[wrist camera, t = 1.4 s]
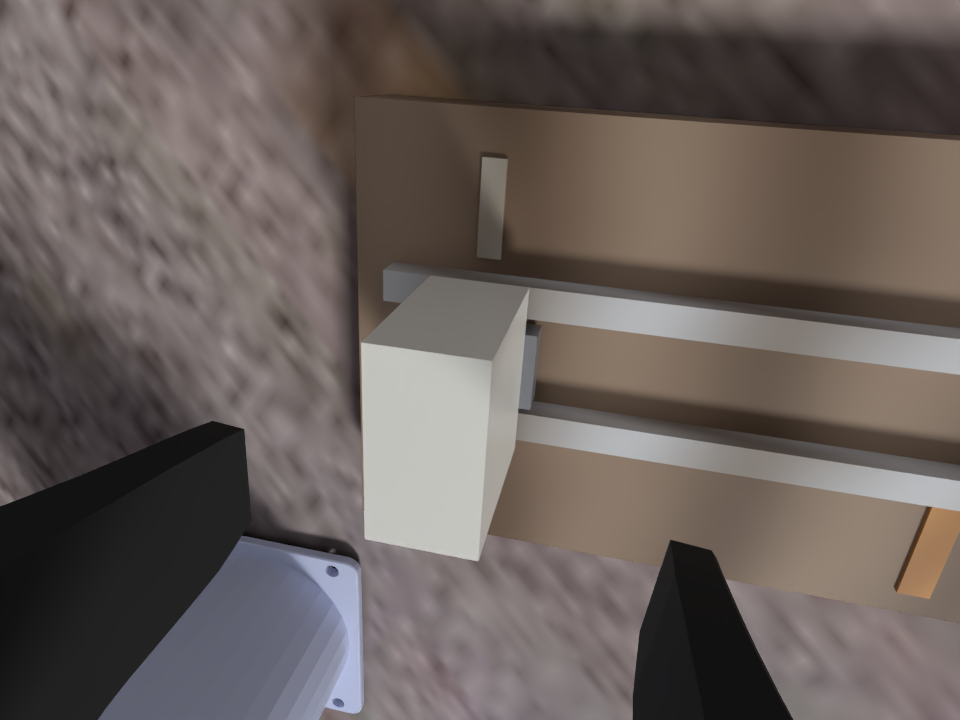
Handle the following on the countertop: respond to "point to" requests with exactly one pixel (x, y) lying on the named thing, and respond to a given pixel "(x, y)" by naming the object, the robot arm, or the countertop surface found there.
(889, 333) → the tan slider track board
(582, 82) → the countertop surface
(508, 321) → the block
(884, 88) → the countertop surface
